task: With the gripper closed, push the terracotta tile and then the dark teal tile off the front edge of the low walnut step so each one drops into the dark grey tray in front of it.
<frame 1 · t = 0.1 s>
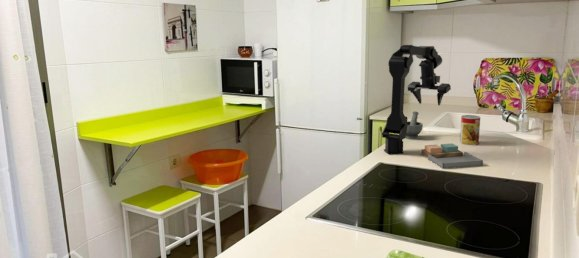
hand: (429, 104, 212), 15 cm above the worktop, tool pointing down, fingers open, 9 cm apart
teal tile: (449, 150, 184), point 2 cm above the worktop, touching walnut step
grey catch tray: (454, 162, 174), on the worktop
terracotta tile: (433, 151, 183), point 2 cm above the worktop, touching walnut step
walnut step: (441, 155, 184), on the worktop
mortar and pestle: (411, 137, 214), on the worktop
canned food: (469, 143, 201), on the worktop
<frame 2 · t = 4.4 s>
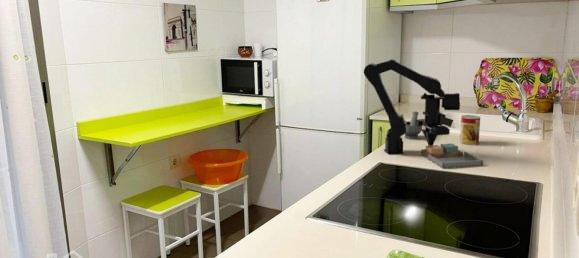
hand: (430, 147, 185), 3 cm above the worktop, tool pointing down, fingers closed
terracotta tile: (434, 151, 182), point 2 cm above the worktop, touching gripper, walnut step
everything else where it was.
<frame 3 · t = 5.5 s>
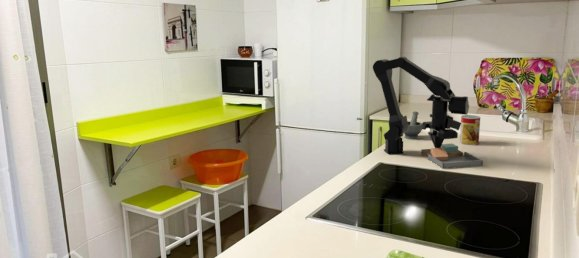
hand: (437, 150, 179), 3 cm above the worktop, tool pointing down, fingers closed
terracotta tile: (438, 155, 177), point 1 cm above the worktop, tilted 28°, touching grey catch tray, gripper
everything else where it was.
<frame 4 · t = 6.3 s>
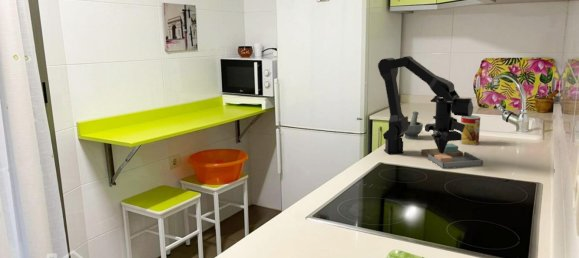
hand: (441, 153, 176), 3 cm above the worktop, tool pointing down, fingers closed
terracotta tile: (443, 161, 175), resting in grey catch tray
everything else where it was.
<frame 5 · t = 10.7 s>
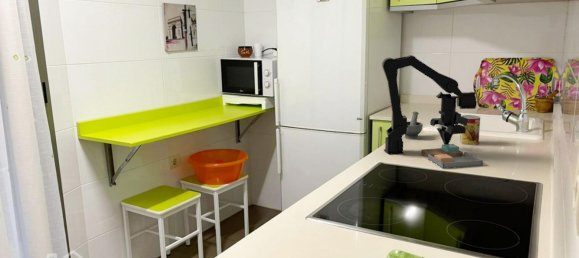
hand: (446, 145, 186), 3 cm above the worktop, tool pointing down, fingers closed
teal tile: (450, 150, 183), point 2 cm above the worktop, touching gripper, walnut step
everything else where it was.
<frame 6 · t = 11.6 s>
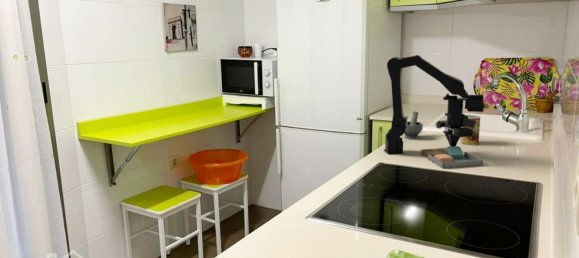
hand: (453, 149, 181), 3 cm above the worktop, tool pointing down, fingers closed
teal tile: (454, 154, 179), point 1 cm above the worktop, tilted 25°, touching gripper
everything else where it was.
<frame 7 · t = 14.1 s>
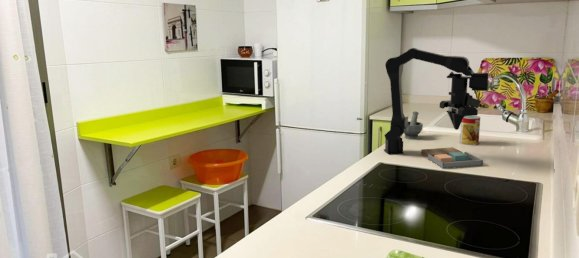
hand: (456, 129, 176), 12 cm above the worktop, tool pointing down, fingers closed
teal tile: (457, 158, 177), resting in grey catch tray
everything else where it was.
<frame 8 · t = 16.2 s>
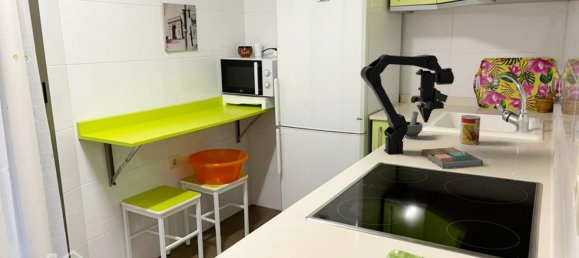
hand: (425, 122, 189), 12 cm above the worktop, tool pointing down, fingers closed
nothing on the worktop moved.
at the end: terracotta tile inside the target area on the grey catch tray (4.1 cm from its centre), point 0.3 cm above the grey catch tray's base; teal tile inside the target area on the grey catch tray (4.4 cm from its centre), point 0.3 cm above the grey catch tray's base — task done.
